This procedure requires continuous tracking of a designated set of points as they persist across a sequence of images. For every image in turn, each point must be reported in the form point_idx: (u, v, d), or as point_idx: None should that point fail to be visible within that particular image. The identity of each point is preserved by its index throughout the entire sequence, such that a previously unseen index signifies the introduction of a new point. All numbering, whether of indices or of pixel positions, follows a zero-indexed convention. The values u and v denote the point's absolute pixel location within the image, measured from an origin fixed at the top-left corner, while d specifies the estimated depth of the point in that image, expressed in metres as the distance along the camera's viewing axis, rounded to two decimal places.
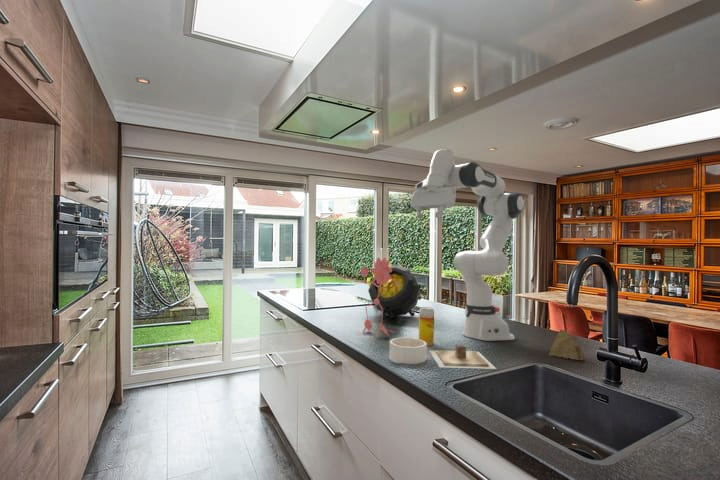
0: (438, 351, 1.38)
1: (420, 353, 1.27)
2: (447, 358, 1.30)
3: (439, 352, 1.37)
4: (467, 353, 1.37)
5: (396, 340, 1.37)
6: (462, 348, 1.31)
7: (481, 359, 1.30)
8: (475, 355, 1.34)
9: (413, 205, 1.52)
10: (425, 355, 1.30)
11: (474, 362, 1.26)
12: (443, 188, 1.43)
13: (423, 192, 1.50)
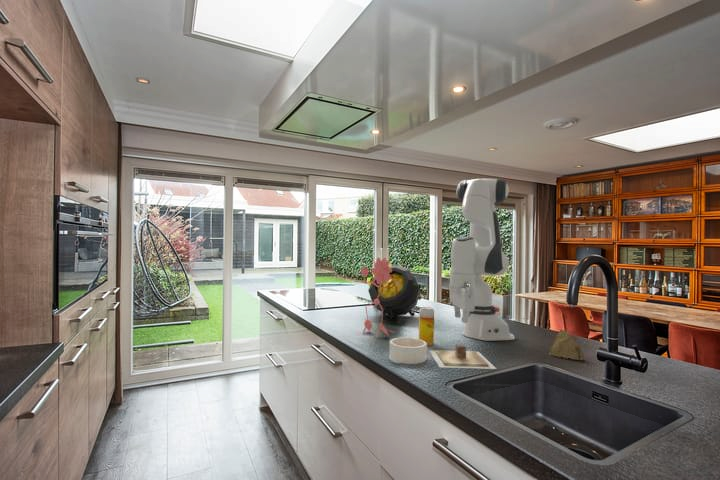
0: (438, 351, 1.38)
1: (420, 353, 1.27)
2: (447, 358, 1.30)
3: (439, 352, 1.37)
4: (467, 353, 1.37)
5: (396, 340, 1.37)
6: (462, 348, 1.31)
7: (481, 359, 1.30)
8: (475, 355, 1.34)
9: (451, 302, 1.40)
10: (425, 355, 1.30)
11: (474, 362, 1.26)
12: (461, 289, 1.27)
13: None
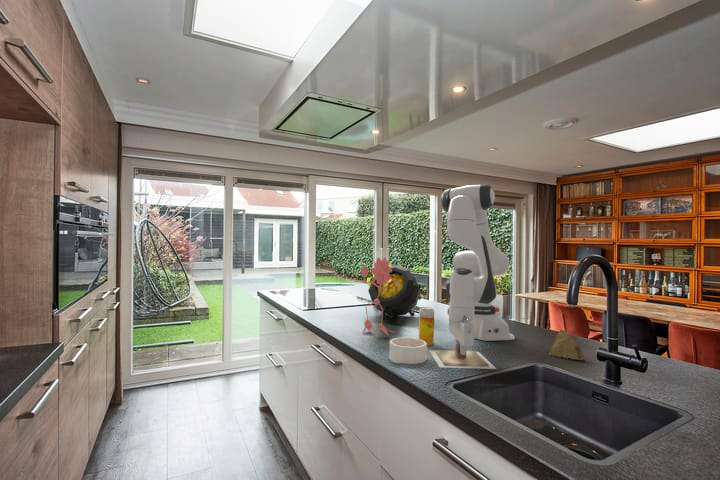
0: (438, 351, 1.38)
1: (420, 353, 1.27)
2: (447, 358, 1.30)
3: (439, 352, 1.37)
4: (467, 353, 1.37)
5: (396, 340, 1.37)
6: None
7: (481, 359, 1.30)
8: (475, 355, 1.34)
9: (450, 332, 1.41)
10: (425, 355, 1.30)
11: (474, 362, 1.27)
12: (460, 324, 1.27)
13: None
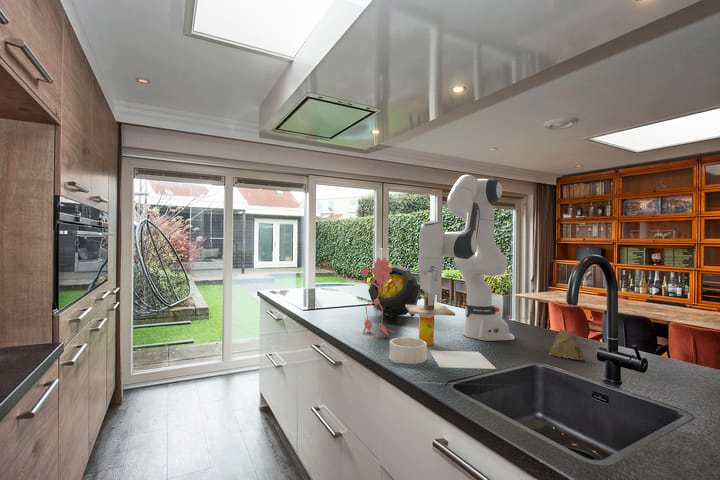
0: (407, 305, 1.38)
1: (420, 353, 1.27)
2: (415, 309, 1.30)
3: (408, 306, 1.36)
4: (436, 307, 1.36)
5: (396, 340, 1.37)
6: None
7: (449, 310, 1.30)
8: (444, 308, 1.34)
9: (421, 287, 1.40)
10: (425, 355, 1.30)
11: (441, 312, 1.26)
12: (428, 273, 1.27)
13: None
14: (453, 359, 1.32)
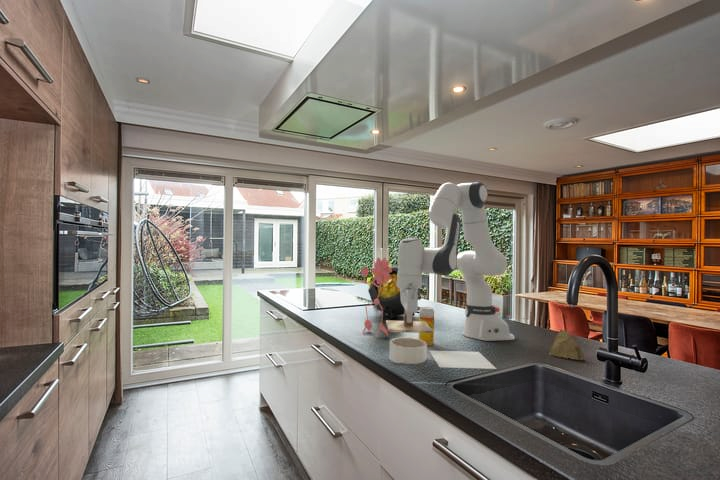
0: (388, 321, 1.39)
1: (420, 353, 1.27)
2: (394, 326, 1.30)
3: (389, 322, 1.37)
4: (416, 323, 1.37)
5: (396, 340, 1.37)
6: None
7: (427, 327, 1.30)
8: (423, 324, 1.34)
9: (401, 303, 1.41)
10: (425, 355, 1.30)
11: (419, 329, 1.27)
12: (406, 291, 1.27)
13: None
14: (453, 359, 1.32)
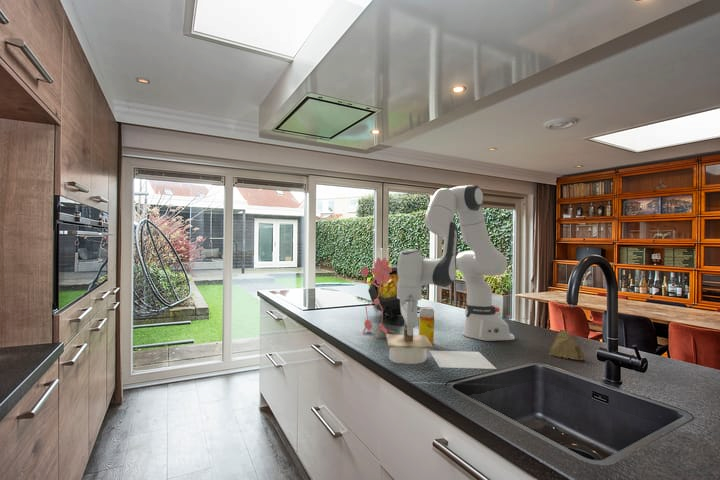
0: (388, 335, 1.39)
1: (420, 353, 1.27)
2: (394, 341, 1.30)
3: (389, 336, 1.37)
4: (416, 337, 1.37)
5: None
6: None
7: (428, 342, 1.30)
8: (424, 339, 1.35)
9: (401, 313, 1.41)
10: (425, 355, 1.30)
11: (419, 344, 1.27)
12: (406, 303, 1.27)
13: None
14: (453, 359, 1.32)
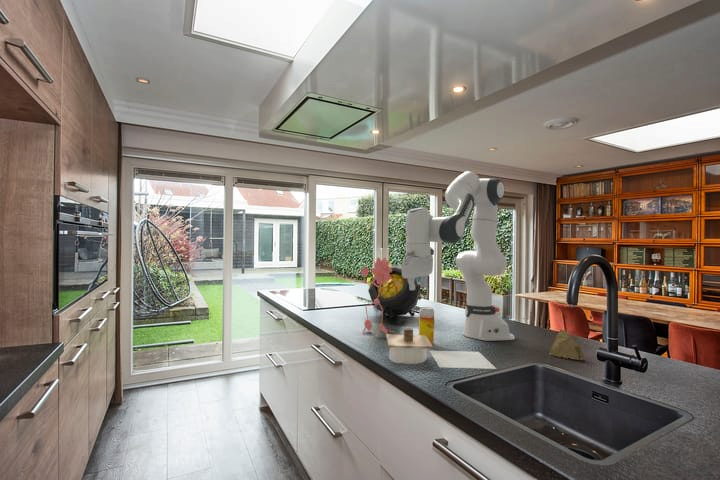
0: (388, 335, 1.39)
1: (420, 353, 1.27)
2: (394, 341, 1.30)
3: (389, 336, 1.37)
4: (416, 337, 1.37)
5: None
6: (409, 331, 1.31)
7: (428, 342, 1.30)
8: (424, 339, 1.35)
9: None
10: (425, 355, 1.30)
11: (419, 344, 1.27)
12: None
13: None
14: (453, 359, 1.32)
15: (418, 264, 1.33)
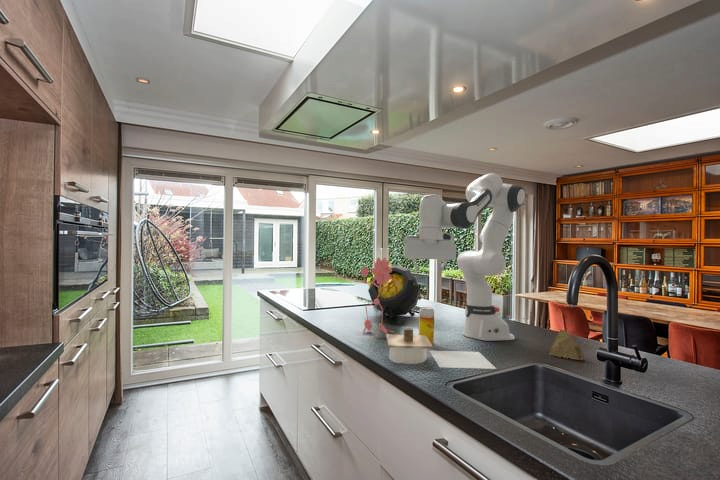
0: (388, 335, 1.39)
1: (420, 353, 1.27)
2: (394, 341, 1.30)
3: (389, 336, 1.37)
4: (416, 337, 1.37)
5: None
6: (409, 331, 1.31)
7: (428, 342, 1.30)
8: (424, 339, 1.35)
9: None
10: (425, 355, 1.30)
11: (419, 344, 1.27)
12: None
13: None
14: (453, 359, 1.32)
15: (422, 246, 1.42)
